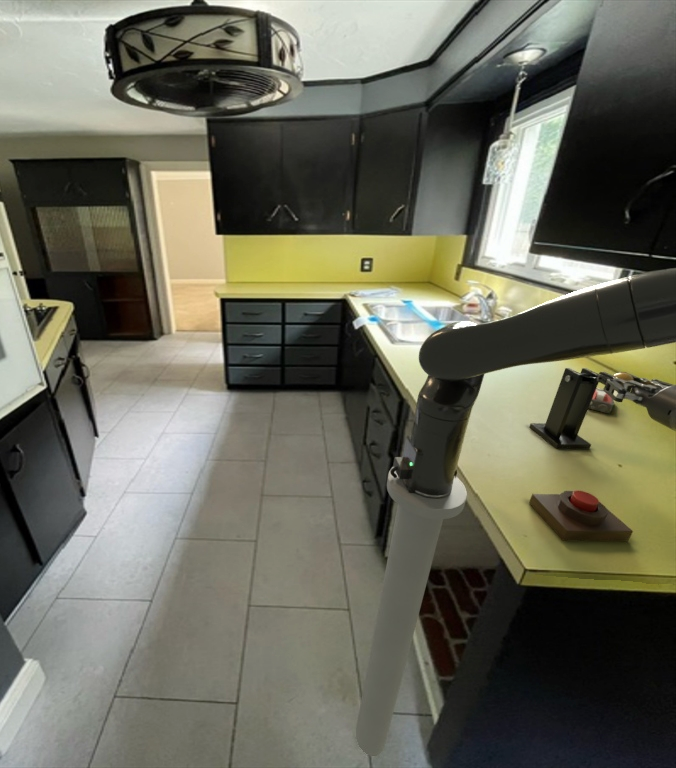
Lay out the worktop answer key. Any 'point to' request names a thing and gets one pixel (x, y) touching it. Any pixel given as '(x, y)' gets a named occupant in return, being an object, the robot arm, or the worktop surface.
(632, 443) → the worktop surface
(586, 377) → the latch lever
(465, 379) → the robot arm
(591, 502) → the release button
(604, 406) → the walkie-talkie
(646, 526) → the worktop surface
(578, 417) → the bracket
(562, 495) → the button base
